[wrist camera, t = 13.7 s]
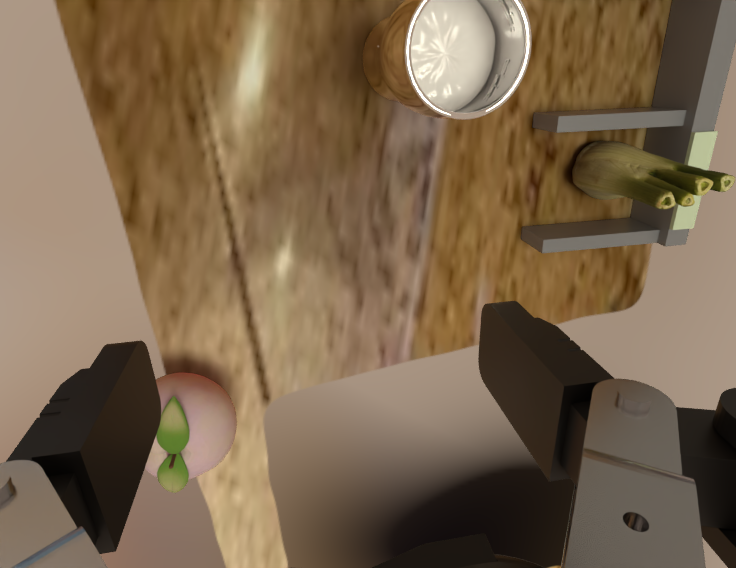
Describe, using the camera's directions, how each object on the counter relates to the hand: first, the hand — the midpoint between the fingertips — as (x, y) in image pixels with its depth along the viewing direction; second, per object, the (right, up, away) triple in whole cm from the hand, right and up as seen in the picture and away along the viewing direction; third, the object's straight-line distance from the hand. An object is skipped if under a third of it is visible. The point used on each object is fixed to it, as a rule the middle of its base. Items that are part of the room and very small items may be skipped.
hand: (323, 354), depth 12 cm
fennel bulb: (+21, +12, +32) cm, 40 cm away
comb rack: (+22, +16, +30) cm, 40 cm away
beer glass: (+4, +19, +26) cm, 32 cm away
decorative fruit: (-15, -8, +34) cm, 39 cm away
